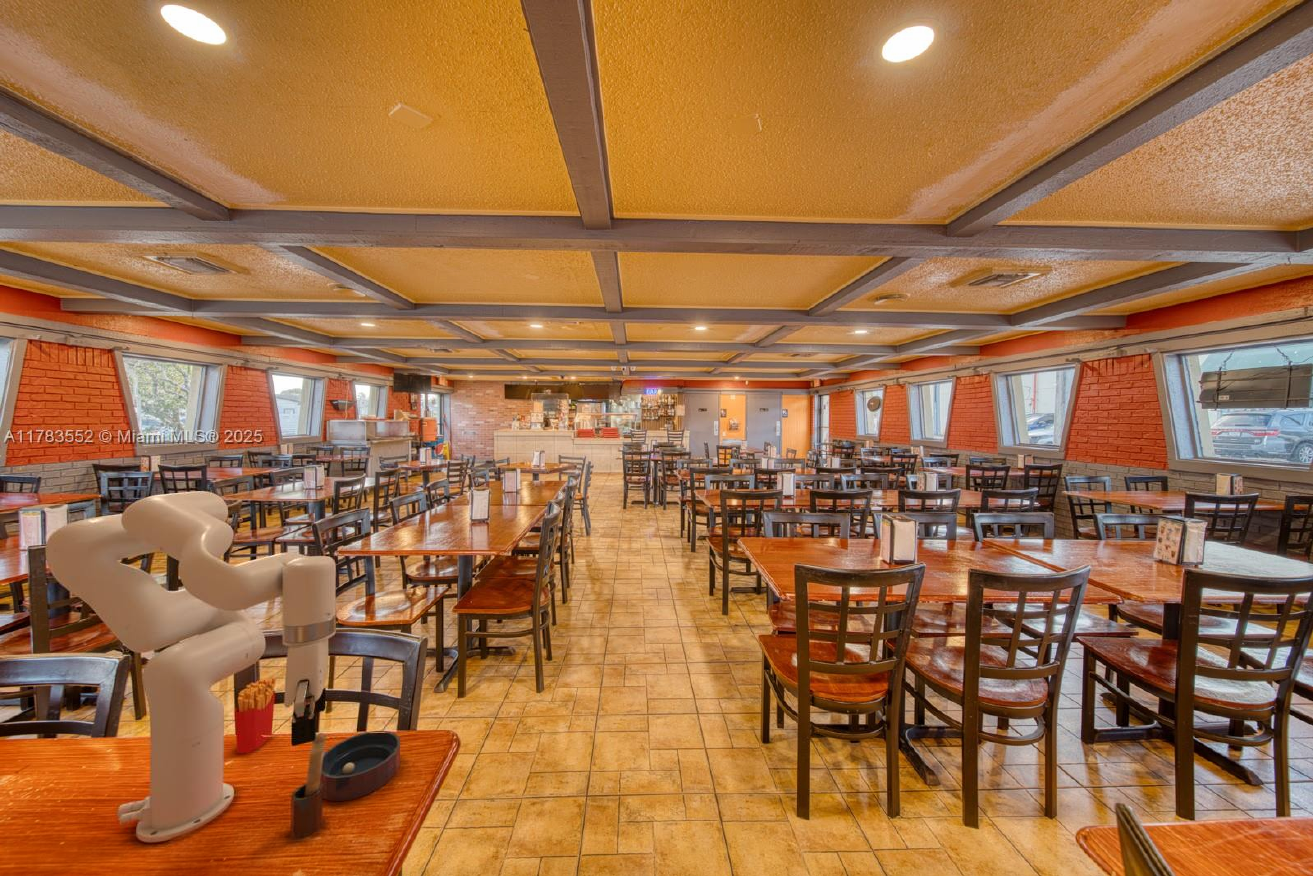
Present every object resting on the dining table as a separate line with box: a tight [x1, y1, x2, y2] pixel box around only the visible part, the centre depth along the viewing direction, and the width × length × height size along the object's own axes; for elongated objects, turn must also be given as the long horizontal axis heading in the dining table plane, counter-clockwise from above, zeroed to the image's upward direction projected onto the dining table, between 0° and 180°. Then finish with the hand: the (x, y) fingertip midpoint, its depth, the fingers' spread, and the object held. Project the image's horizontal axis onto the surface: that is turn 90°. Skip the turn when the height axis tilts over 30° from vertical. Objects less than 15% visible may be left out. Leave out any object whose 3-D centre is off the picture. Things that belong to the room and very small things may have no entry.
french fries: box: [233, 677, 277, 755], centre depth 105 cm, size 9×4×13 cm, turn 3°
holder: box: [290, 782, 324, 839], centre depth 82 cm, size 4×4×7 cm
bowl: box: [320, 730, 402, 802], centre depth 95 cm, size 14×14×5 cm
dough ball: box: [343, 763, 354, 775], centre depth 95 cm, size 2×2×2 cm
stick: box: [304, 732, 327, 798], centre depth 82 cm, size 2×2×16 cm
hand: (309, 726), depth 82 cm, fingers open, 9 cm apart
